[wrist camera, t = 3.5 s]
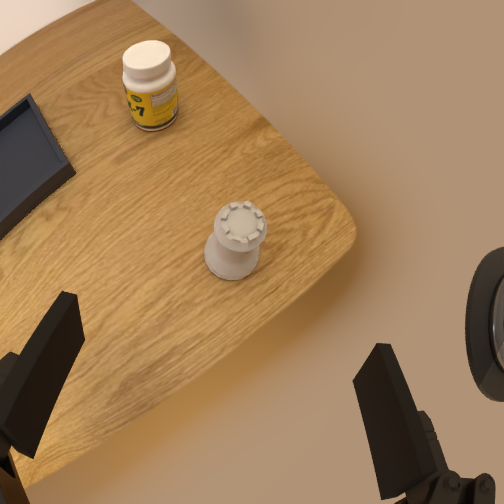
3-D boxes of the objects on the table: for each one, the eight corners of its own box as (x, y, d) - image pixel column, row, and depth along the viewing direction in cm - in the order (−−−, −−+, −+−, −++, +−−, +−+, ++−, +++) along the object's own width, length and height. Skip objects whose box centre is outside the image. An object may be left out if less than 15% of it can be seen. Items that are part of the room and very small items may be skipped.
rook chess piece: (265, 272, 26) (290, 246, 18) (212, 287, 25) (216, 267, 17) (248, 222, 27) (266, 179, 19) (197, 236, 26) (195, 195, 18)
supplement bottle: (124, 112, 28) (109, 53, 20) (163, 91, 29) (157, 30, 21) (146, 140, 28) (132, 80, 20) (187, 117, 29) (186, 55, 21)
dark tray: (76, 173, 26) (68, 162, 24) (-18, 258, 22) (-30, 253, 20) (35, 103, 27) (29, 92, 25) (-43, 174, 24) (-52, 166, 21)
